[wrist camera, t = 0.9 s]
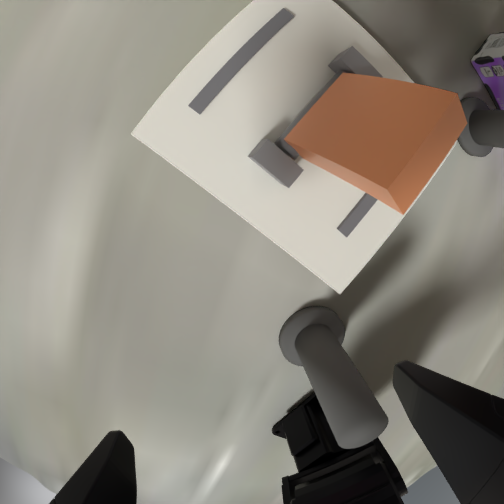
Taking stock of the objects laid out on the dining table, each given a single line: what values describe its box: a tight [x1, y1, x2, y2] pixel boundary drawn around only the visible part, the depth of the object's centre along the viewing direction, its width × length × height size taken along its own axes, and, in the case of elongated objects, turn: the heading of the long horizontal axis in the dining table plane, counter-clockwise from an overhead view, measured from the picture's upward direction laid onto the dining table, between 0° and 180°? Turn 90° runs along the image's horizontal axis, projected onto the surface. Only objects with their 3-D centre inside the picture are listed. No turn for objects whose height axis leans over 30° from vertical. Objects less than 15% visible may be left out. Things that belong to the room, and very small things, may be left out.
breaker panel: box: [131, 0, 457, 294], centre depth 16 cm, size 16×14×4 cm
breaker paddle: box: [275, 70, 467, 215], centre depth 13 cm, size 2×6×8 cm, turn 140°
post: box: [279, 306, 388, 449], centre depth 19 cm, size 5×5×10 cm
